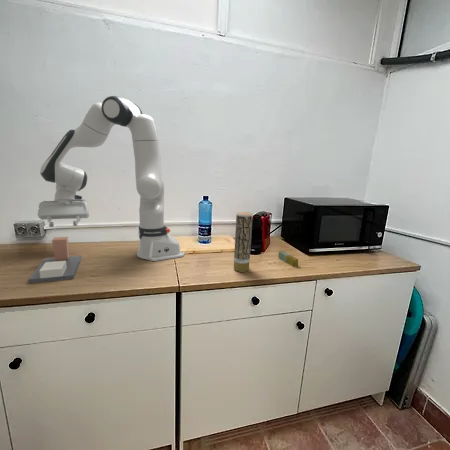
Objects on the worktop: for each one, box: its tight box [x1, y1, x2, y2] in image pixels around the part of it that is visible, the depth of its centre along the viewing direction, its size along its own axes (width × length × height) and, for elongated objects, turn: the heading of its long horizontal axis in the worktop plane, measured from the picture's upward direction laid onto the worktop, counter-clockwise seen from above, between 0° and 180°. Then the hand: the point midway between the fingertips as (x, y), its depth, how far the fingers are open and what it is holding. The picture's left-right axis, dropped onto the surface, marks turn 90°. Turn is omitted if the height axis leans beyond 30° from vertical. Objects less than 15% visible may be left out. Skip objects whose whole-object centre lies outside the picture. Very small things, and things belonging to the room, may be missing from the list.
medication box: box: [278, 250, 299, 268], centre depth 127 cm, size 12×3×4 cm, turn 25°
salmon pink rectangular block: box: [51, 236, 71, 261], centre depth 113 cm, size 5×4×9 cm
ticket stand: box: [28, 255, 82, 284], centre depth 107 cm, size 14×22×5 cm, turn 20°
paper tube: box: [233, 211, 254, 273], centre depth 113 cm, size 7×7×25 cm
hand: (63, 225), depth 119 cm, fingers open, 8 cm apart
